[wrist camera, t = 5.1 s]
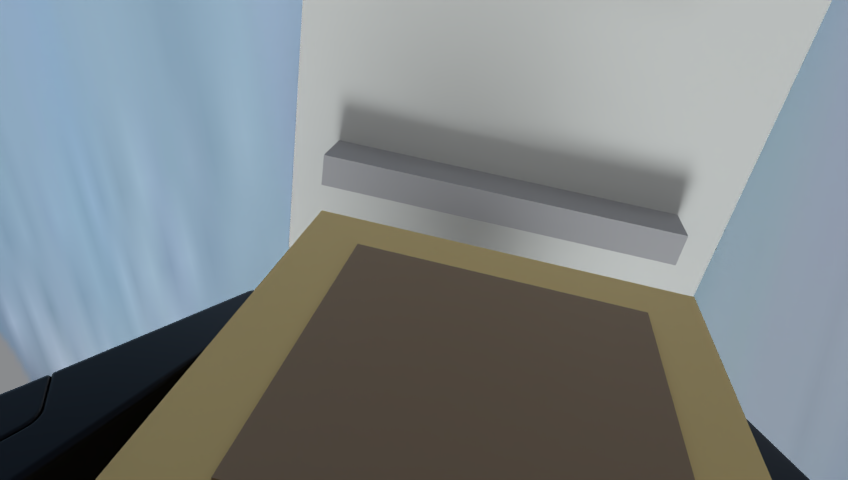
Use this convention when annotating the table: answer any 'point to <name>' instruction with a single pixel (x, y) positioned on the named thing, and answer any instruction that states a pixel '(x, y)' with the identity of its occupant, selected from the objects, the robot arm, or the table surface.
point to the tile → (446, 374)
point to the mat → (545, 122)
